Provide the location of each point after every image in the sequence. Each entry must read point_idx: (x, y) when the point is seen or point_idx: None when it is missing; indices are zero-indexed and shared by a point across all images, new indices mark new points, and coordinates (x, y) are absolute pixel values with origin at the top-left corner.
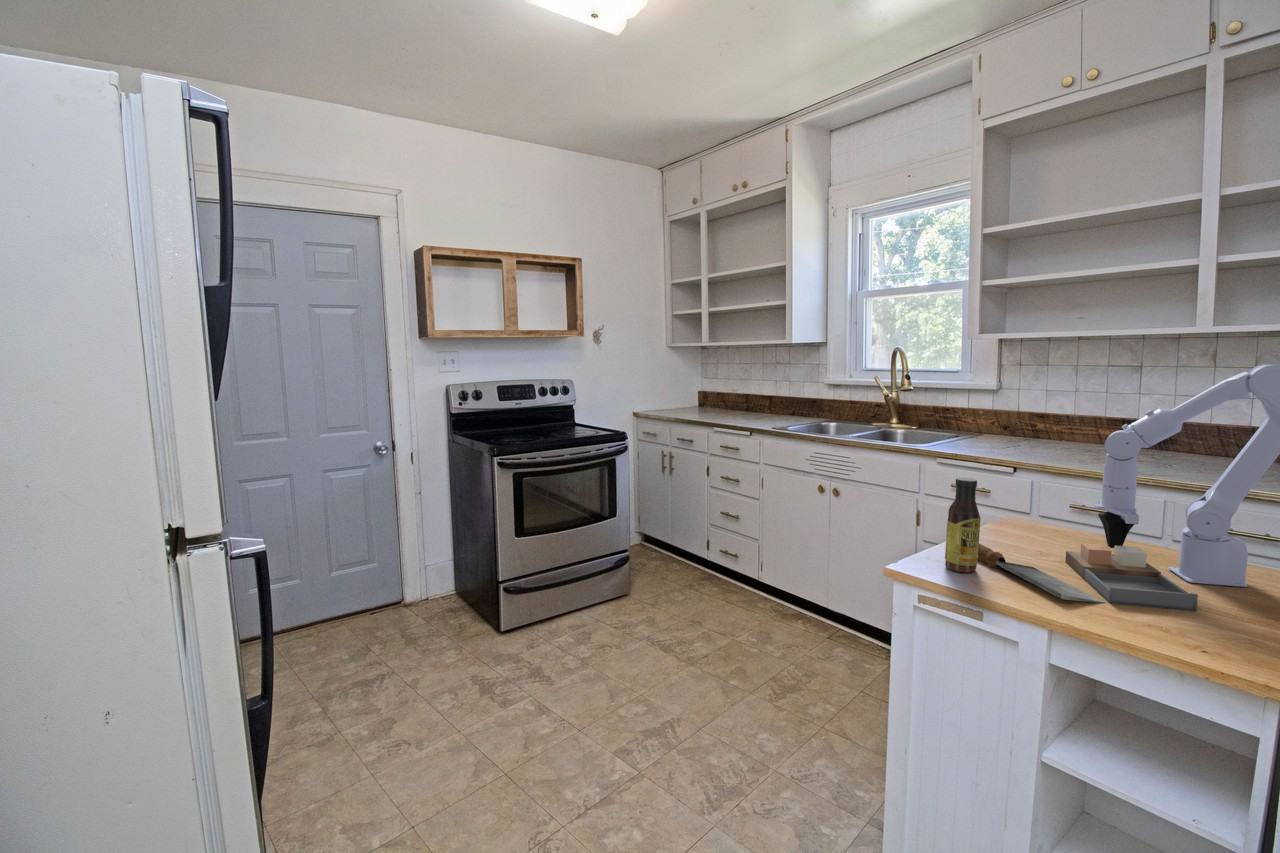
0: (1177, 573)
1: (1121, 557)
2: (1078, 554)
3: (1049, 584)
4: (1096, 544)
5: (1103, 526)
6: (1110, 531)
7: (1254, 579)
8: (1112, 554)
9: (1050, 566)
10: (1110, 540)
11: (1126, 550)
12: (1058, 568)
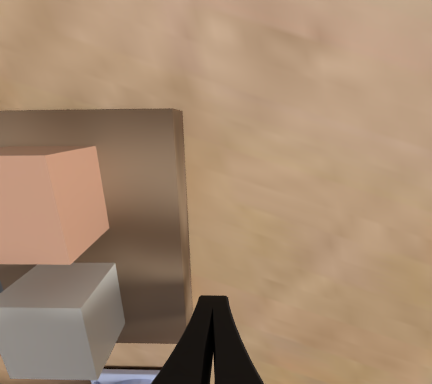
0: (142, 374)
1: (26, 282)
2: (132, 150)
3: None
4: (62, 234)
5: (256, 377)
6: (160, 372)
7: None
8: (181, 280)
9: (101, 25)
10: (189, 322)
11: (12, 325)
12: (86, 54)
